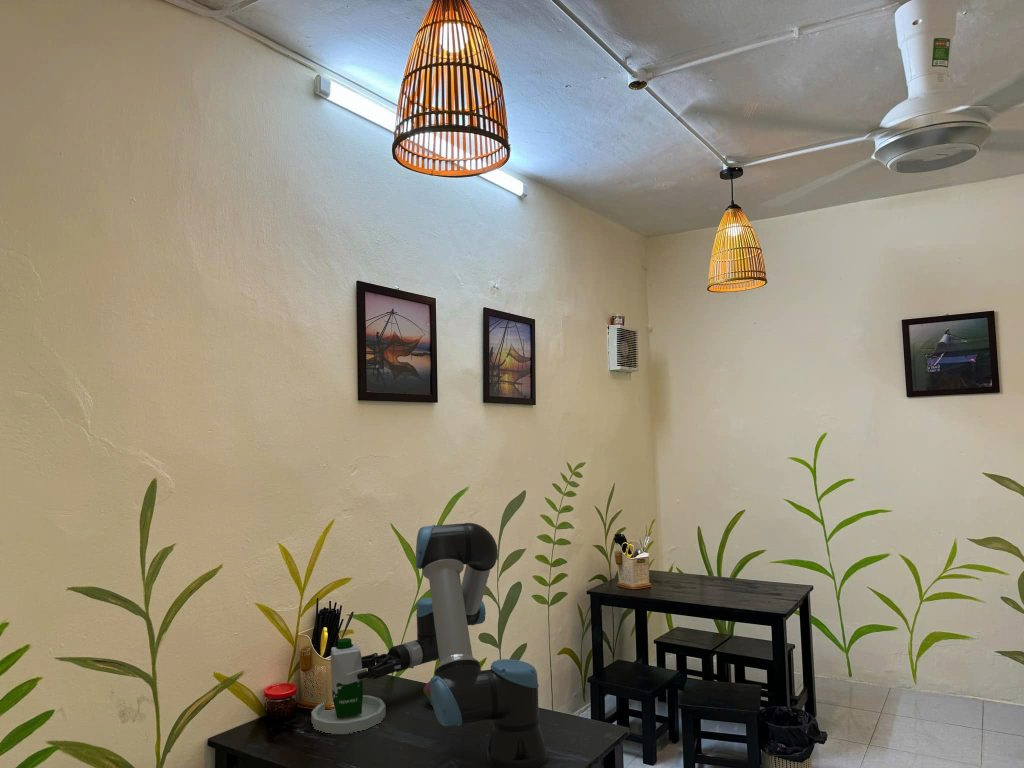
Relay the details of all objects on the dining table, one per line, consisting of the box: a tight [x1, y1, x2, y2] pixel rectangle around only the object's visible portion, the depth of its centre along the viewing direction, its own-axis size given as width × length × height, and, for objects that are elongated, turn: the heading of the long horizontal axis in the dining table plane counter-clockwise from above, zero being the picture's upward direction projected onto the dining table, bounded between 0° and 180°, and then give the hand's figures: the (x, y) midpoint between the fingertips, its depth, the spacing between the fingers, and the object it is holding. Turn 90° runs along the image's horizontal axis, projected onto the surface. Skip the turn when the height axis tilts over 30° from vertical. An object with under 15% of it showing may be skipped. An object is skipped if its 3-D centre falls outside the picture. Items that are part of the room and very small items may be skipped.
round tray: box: [310, 694, 387, 735], centre depth 207 cm, size 20×20×3 cm
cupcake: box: [423, 680, 433, 707], centre depth 216 cm, size 9×8×12 cm
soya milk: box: [330, 637, 364, 718], centre depth 207 cm, size 9×9×20 cm
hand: (339, 676), depth 205 cm, fingers closed on soya milk, 7 cm apart
